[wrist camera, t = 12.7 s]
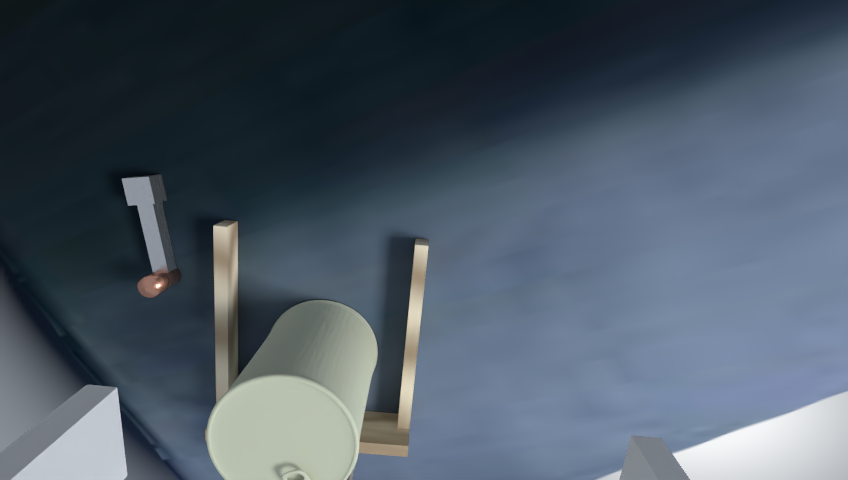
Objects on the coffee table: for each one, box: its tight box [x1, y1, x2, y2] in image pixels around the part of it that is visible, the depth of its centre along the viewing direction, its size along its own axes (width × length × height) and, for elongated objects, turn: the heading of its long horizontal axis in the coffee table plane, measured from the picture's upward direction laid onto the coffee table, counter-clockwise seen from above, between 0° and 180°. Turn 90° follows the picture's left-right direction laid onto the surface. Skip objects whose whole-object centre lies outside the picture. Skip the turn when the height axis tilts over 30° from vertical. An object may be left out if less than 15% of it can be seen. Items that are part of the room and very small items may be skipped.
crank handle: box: [122, 174, 181, 298], centre depth 34 cm, size 9×2×3 cm, turn 4°
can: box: [206, 300, 378, 480], centre depth 32 cm, size 9×9×12 cm
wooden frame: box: [205, 220, 428, 480], centre depth 34 cm, size 21×16×7 cm
